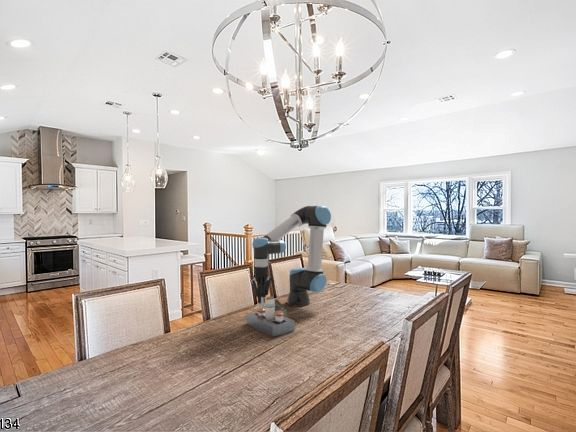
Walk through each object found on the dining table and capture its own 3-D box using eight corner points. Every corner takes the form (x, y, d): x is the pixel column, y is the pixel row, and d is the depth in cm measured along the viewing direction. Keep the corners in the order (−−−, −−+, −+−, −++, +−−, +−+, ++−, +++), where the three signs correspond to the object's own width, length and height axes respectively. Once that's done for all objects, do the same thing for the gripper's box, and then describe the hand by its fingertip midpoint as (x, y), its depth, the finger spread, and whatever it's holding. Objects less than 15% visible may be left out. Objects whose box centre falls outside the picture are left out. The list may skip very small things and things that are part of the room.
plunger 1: (262, 319, 179) (262, 307, 179) (268, 321, 175) (268, 309, 175) (254, 321, 176) (254, 309, 176) (260, 323, 172) (260, 311, 172)
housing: (267, 318, 183) (267, 309, 183) (294, 330, 165) (294, 320, 164) (246, 323, 174) (246, 314, 174) (272, 337, 156) (272, 327, 156)
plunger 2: (280, 323, 167) (280, 310, 167) (286, 325, 163) (286, 312, 163) (272, 325, 164) (272, 312, 163) (278, 328, 160) (278, 314, 159)
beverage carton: (273, 321, 179) (273, 309, 179) (265, 310, 197) (265, 300, 197) (287, 319, 181) (287, 308, 181) (278, 309, 200) (278, 299, 200)
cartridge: (271, 324, 173) (270, 295, 173) (276, 327, 169) (276, 297, 169) (263, 326, 170) (263, 296, 169) (268, 329, 166) (268, 298, 166)
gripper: (266, 263, 182) (267, 304, 182) (247, 266, 174) (247, 309, 174) (274, 265, 176) (274, 308, 177) (254, 268, 168) (255, 312, 168)
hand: (261, 308), depth 175 cm, fingers closed
